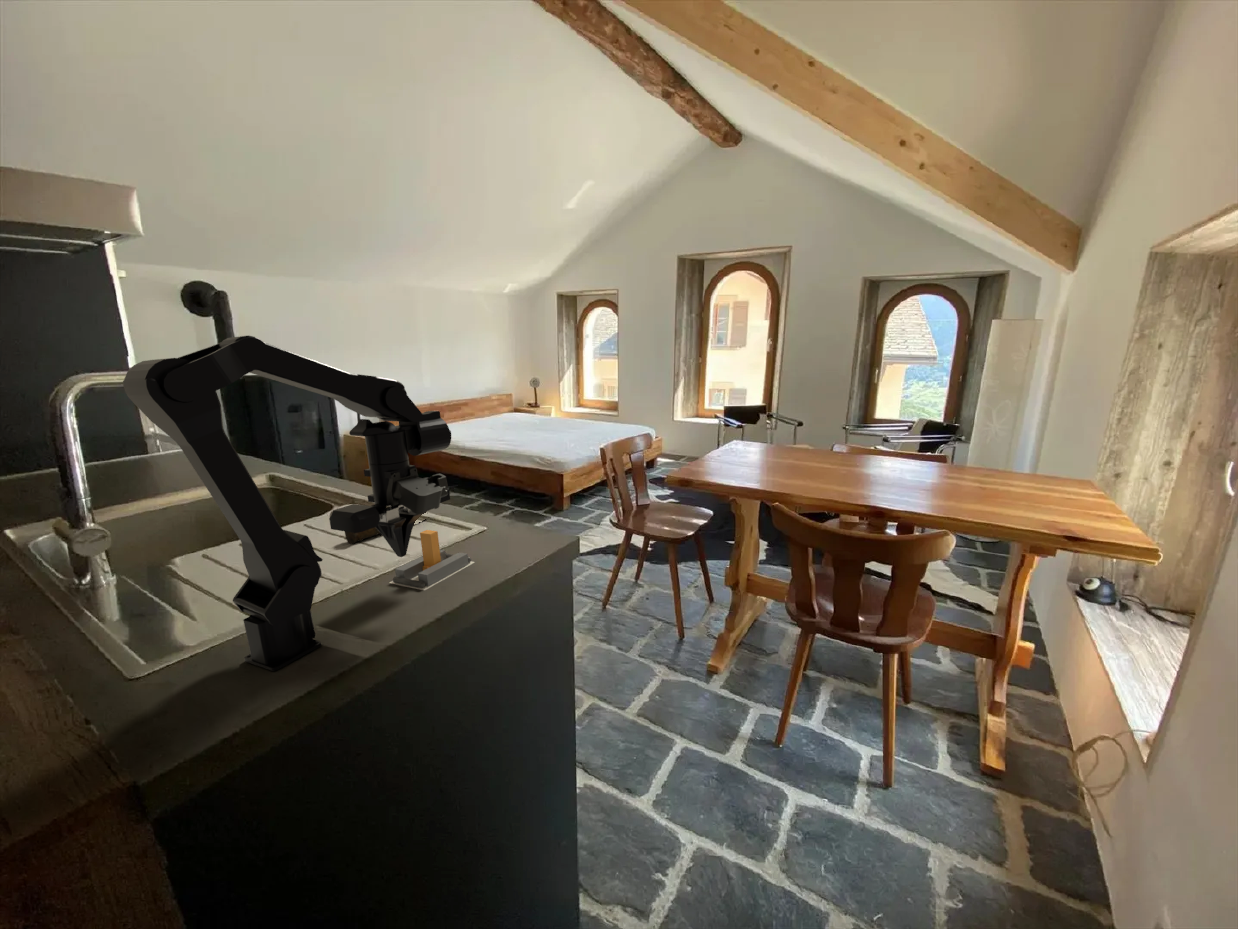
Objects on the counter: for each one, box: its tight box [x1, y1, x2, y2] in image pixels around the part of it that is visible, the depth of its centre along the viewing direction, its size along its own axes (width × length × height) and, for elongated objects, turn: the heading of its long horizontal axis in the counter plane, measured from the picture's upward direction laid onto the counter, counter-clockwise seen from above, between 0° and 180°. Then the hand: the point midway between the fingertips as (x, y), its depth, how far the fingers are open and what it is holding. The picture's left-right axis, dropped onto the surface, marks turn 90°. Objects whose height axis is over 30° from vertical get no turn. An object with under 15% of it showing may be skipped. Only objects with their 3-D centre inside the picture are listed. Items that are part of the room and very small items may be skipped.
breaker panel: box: [388, 549, 476, 591], centre depth 89 cm, size 12×8×4 cm, turn 155°
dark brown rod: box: [344, 527, 381, 545], centre depth 116 cm, size 19×4×5 cm, turn 141°
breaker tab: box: [419, 529, 441, 570], centre depth 88 cm, size 2×2×7 cm
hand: (401, 556), depth 82 cm, fingers closed
